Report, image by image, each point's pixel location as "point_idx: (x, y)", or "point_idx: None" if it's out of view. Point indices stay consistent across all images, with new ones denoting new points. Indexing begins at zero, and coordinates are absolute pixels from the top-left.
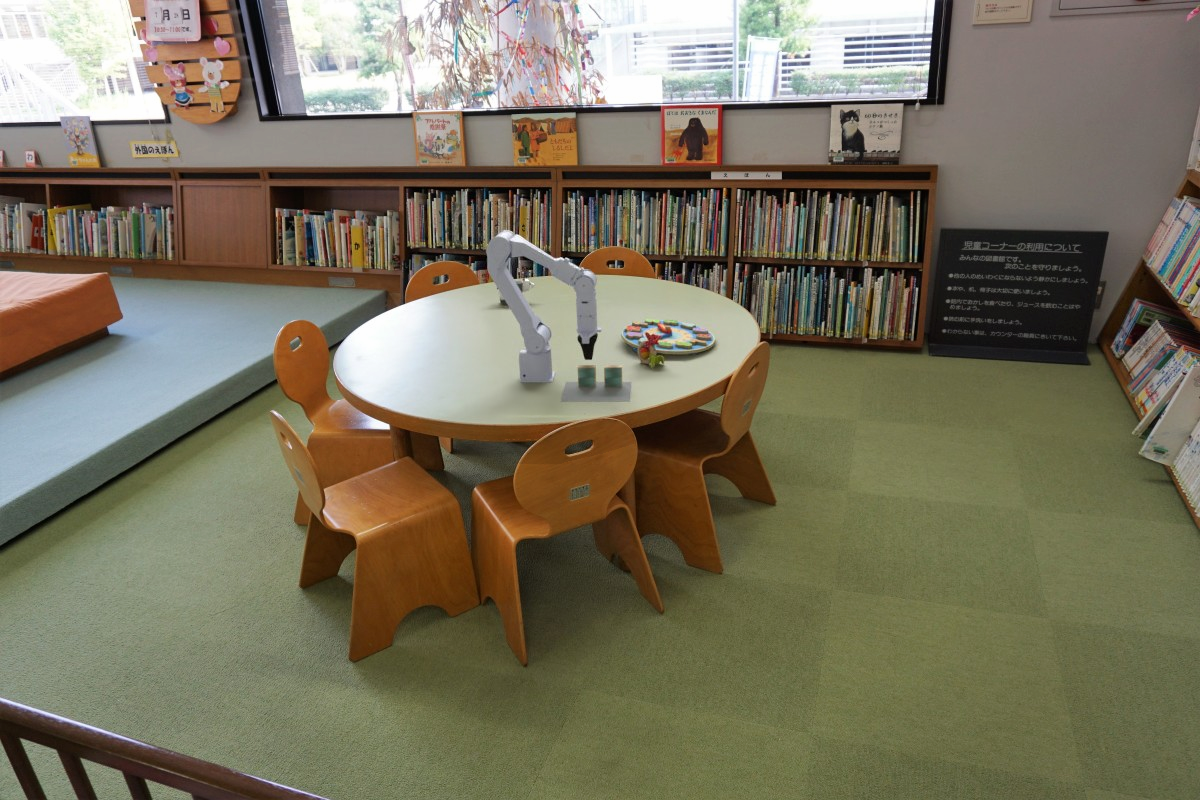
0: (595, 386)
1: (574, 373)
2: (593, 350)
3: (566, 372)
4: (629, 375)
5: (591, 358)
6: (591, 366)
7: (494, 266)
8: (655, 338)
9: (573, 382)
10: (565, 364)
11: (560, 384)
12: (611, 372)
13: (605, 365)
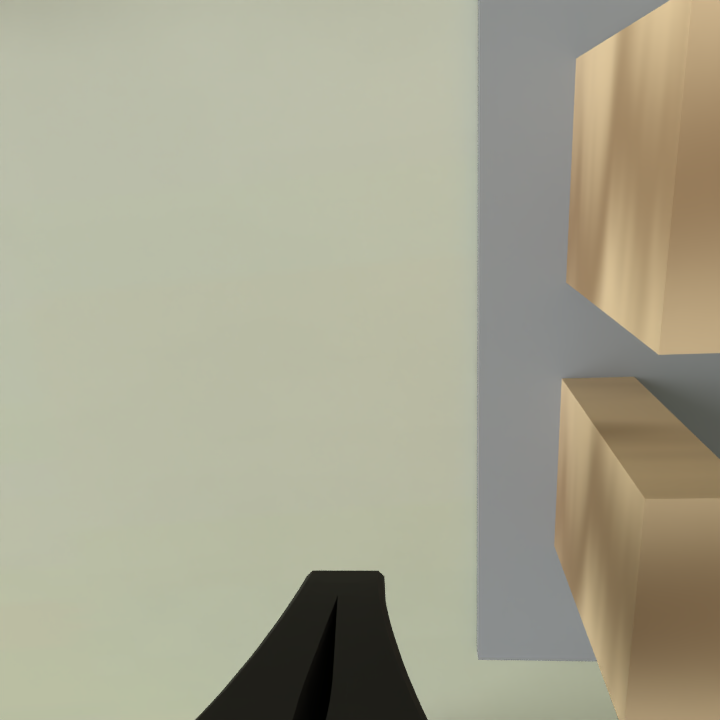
0: (636, 383)
1: (223, 599)
2: (312, 655)
3: (208, 662)
4: (208, 3)
5: (383, 590)
6: (700, 557)
7: None
8: None
9: (490, 597)
10: (20, 683)
11: (502, 687)
12: None
13: (678, 335)
